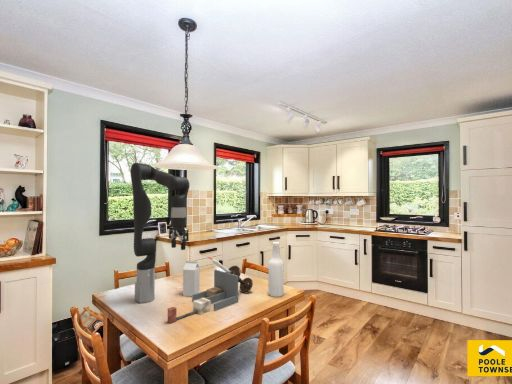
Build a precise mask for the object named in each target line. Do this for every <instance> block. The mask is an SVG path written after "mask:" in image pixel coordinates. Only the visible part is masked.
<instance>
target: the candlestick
mask: <svg viewBox="0 0 512 384" xmlns="http://www.w3.org/2000/svg"><path fill="white" fill-rule="evenodd" d="M207 259H210V260H212V263H213V264H215V265H216V266H218V268H220V269H221V270H222V271H223V272H226V273H230V274H234V275H237V276H238V283H239V290H240V292H241V293H243V294H247V293H248V292H249V291H250V290H252V287H253V285H254V281H253V279H252V278H250V277H245V278H244V279H242V278H241V274H242V271H241V268H240V267H239V266H238V265H231V266H230V267H228V268H227V267H226V266H225V265H223V264H222V263H220V262H219V261H218V260H217V259H216V258H212V257H210V256H209V257H208V256H207Z"/></svg>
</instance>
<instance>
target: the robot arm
mask: <svg viewBox="0 0 512 384" xmlns="http://www.w3.org/2000/svg"><path fill="white" fill-rule="evenodd" d="M130 180H131V187H132V201H133V202H132V207H133V209H132V210H133V211H132V212H133V227H134V229H133V231H134V233H133V253H134V255H135V257H145V256H146V257H145V258H143V260H141V261H138V262H137V263H136V282H135V283H134V301H135V302H137V303H139V304H142V303H144V304H145V303H149V302H152V301H154V300H155V296H156V295H155V290H156V288H155V287H156V285H155V284H156V282H155V281H156V280H155V278H156V275H155V274H156V273H155V272H156V269H155V268H156V262H157V261H156V257H157V241H156V240H155V238H154V237H148V238H147V237H146V238H143V232H144V229H145V227H146V226H147V223H148V222H149V220H150V219H151V216H152V202H151V199H150V198H149V196H148V195H147V193H146V192H145V189H144V188H143V181H154V182H156V183H157V184H159V185H160V186H163V187H165V188H167V189H168V190H171V191H175V192H177V191H178V192H177V194H176V195H173V196H172V197H171V206H170V207H171V209H170V227H169V228H168V239H169V240H170V241H171V248H172V249H174V248H176V247H177V239H179V240H180V251H184V250H185V251H186V245H187V242H189V240H190V237H189V228H185V226H187V208H186V207H187V197H188V195H189V194H188V193H189V189H190V181H189V179H188V178H187V177H184V176H174V175H173V174H172V173H169V172H166V171H162V170H159V169H156V168H155V167H153V166H152V165H150V164H147V163H140V162H134V163H132V164H131V167H130Z"/></svg>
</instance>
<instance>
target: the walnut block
mask: <svg viewBox="0 0 512 384" xmlns="http://www.w3.org/2000/svg"><path fill="white" fill-rule="evenodd" d="M206 290H207V293H206V298H207V297H210V296H213V295H216V294H219V293H222V289H220V288H216V287H214V286H213V287H211V288H207V289H206Z"/></svg>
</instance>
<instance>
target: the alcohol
mask: <svg viewBox="0 0 512 384" xmlns="http://www.w3.org/2000/svg"><path fill="white" fill-rule="evenodd" d="M280 250H281V249H280V242H279V241H273V242H272V251H271V252H272V254H271V258H270V259H269V260H268V266H267V267H268V272H267V274H268V281H267V282H268V285H267V287H268V289H267V290H268V291H267V292H268V295H269V296H270V297H274V298H279V297H282V296H283V295H284V292H285V291H284V288H285V287H284V284H285V280H284V277H285V275H284V272H285V269H284V268H285V267H284V261H283V259H282V258H281V251H280Z"/></svg>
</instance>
